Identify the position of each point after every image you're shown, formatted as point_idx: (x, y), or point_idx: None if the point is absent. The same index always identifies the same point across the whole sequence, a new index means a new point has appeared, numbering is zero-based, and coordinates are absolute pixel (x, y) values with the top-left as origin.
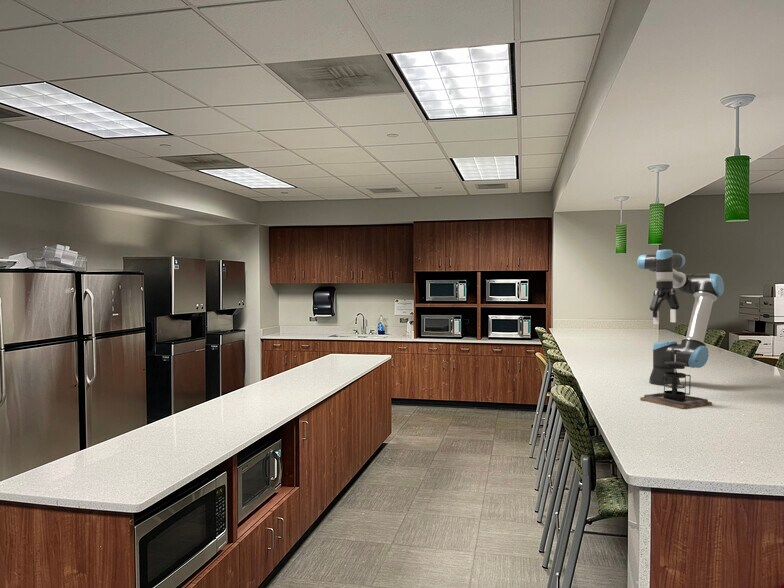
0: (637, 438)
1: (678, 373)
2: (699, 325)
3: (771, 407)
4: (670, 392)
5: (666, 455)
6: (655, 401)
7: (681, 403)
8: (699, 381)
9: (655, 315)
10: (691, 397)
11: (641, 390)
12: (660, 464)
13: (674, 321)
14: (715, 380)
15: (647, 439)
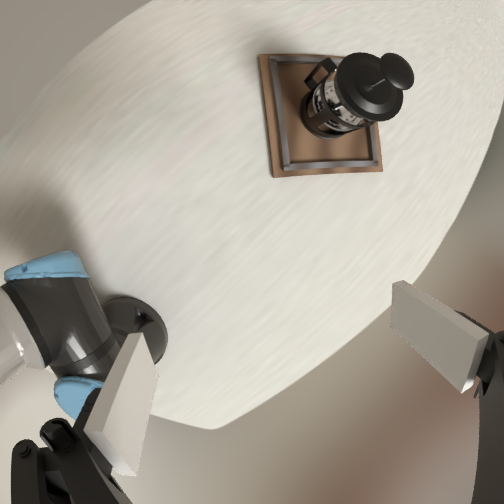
0: (496, 38)
1: (326, 103)
2: None
3: (152, 8)
4: (321, 132)
5: (492, 6)
6: (377, 128)
7: None
8: None
9: (469, 317)
10: (281, 94)
11: (274, 274)
12: (500, 5)
13: (142, 345)
14: None
15: (491, 30)
